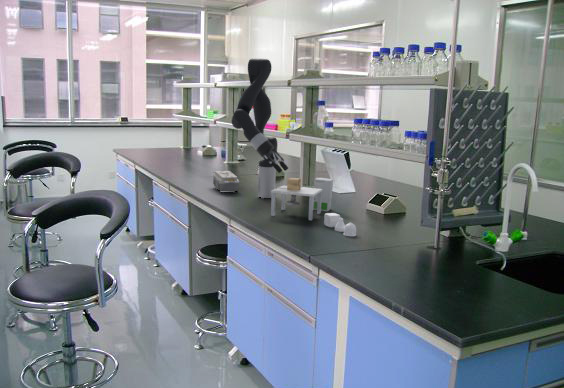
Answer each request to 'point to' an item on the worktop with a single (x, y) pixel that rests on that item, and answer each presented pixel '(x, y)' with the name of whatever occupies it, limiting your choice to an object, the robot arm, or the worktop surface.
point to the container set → (339, 224)
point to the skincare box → (323, 193)
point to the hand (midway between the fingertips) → (283, 170)
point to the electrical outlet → (225, 181)
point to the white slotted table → (303, 192)
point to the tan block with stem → (293, 185)
